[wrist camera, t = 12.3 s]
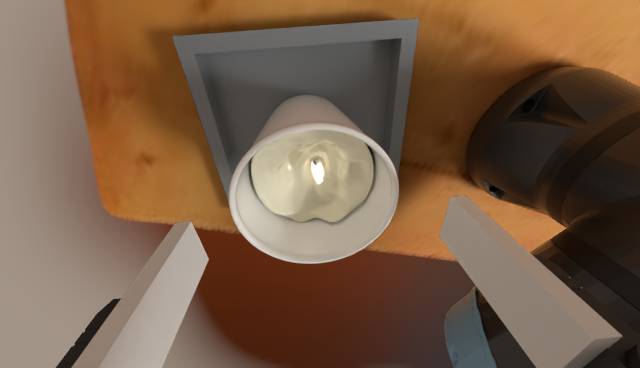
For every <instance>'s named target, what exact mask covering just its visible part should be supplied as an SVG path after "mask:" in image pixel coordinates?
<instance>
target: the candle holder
mask: <svg viewBox="0 0 640 368" xmlns="http://www.w3.org/2000/svg"><path fill="white" fill-rule="evenodd" d="M398 198H399V182H398V176H397V173H396V170H395V167H394V165H393V163H392V161H391V159H390V158H389V156H388V155H387V154H386V152H385V151H384V150H383V149H382V148H381V147H380V146H379V145H378V144H377V143H376V142H375V141H374V140H372V139H371V138H370V137H368V136H367V135H366V134H365V133H364V132H363V131H362V130H361V129H360V128H359V127H358V126H357V125H356V124H355V123H354V122H353V121H352V120H351V119H350V118H349V117H348V116H347V115H346V114H345V113H344V112H342V111H341V110H340V109H339V108H338V107H337V106H336V105H335V104H333V103H332V102H331V101H329V100H327V99H325V98H323V97H320V96H316V95H298V96H294V97H292V98H289V99H287V100H285V101H284V102H282V103H281V104H280V105H279V106H278V107H277V108H276V109H275V110H274V111H273V112H272V114H271V115H270V117H269V118H268V120H267V121H266V123H265V125H264V126H263V128H262V129H261V131H260V133H259V134H258V136H257V138H256V139H255V141H254V142H253V144H252V146H251V147H250V149H249V150H248V152H247V153H246V154H245V155H244V156H243V158H242V159H241V161H240V162H239V164H238V165H237V167H236V169H235V171H234V174H233V176H232V179H231V183H230V188H229V207H230V211H231V215H232V218H233V220H234V222H235V224H236V226H237V228H238V229H239V231H240V232H241V234H242V235H243V236H244V237H245V238H246V239H247V240H248V241H249V242H250V243H251V244H252V245H253V246H255V247H256V248H258V249H259V250H261V251H262V252H264V253H266V254H268V255H270V256H272V257H275V258H278V259H281V260H284V261H288V262H294V263H304V264H314V263H325V262H330V261H335V260H338V259H342V258H345V257H347V256H350V255H352V254H354V253H356V252H358V251H360V250H362V249H363V248H365V247H366V246H368V245H369V244H371V243H372V242H373V241H374V240H375V239H376V238H378V237H379V236H380V234H381V233H382V232H383V231H384V230H385V229H386V227H387V226H388V224H389V223H390V221H391V219H392V217H393V215H394V213H395V210H396V207H397V204H398Z"/></svg>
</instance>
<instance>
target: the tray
mask: <svg viewBox="0 0 640 368" xmlns="http://www.w3.org/2000/svg"><path fill="white" fill-rule="evenodd" d="M418 24H419V18H415V19H401V20H388V21H374V22H360V23H346V24H332V25H319V26H305V27H291V28H277V29H263V30H250V31H236V32H222V33H208V34H195V35H181V36H172V39H173V41H174V44H175V47H176V50H177V53H178V56H179V59H180V62H181V65H182V68H183V71H184V74H185V77H186V79H187V82H188V85H189V88H190V91H191V94H192V97H193V100H194V103H195V106H196V109H197V112H198V114H199V117H200V120H201V123H202V126H203V129H204V132H205V135H206V138H207V141H208V144H209V147H210V150H211V152H212V155H213V158H214V161H215V164H216V167H217V170H218V173H219V176H220V179H221V182H222V185H223V188H224V190H225V193H226V196H227V199H228V202H229V188H230V183H231V179H232V176H233V174H234V171H235V169H236V167H237V165H238V164H239V162H240V161H241V159H242V158H243V156H244V155H245V154H246V153H247V152H248V150H249V149H250V147H251V146H252V144H253V142H254V141H255V139H256V138H257V136H258V134H259V133H260V131H261V129H262V128H263V126H264V125H265V123H266V121H267V120H268V118H269V117H270V115H271V114H272V112H273V111H274V110H275V109H276V108H277V107H278V106H279V105H280V104H281V103H282V102H284V101H285V100H287V99H289V98H292V97H294V96H298V95H316V96H320V97H323V98H325V99H327V100H329V101H331V102H332V103H333V104H335V105H336V106H337V107H338V108H339V109H340V110H341V111H342V112H344V113H345V114H346V115H347V116H348V117H349V118H350V119H351V120H352V121H353V122H354V123H355V124H356V125H357V126H358V127H359V128H360V129H361V130H362V131H363V132H364V133H365V134H366V135H367V136H368V137H370V138H371V139H372V140H374V141H375V142H376V143H377V144H378V145H379V146H380V147H381V148H382V149H383V150H384V151H385V152H386V154H387V155H388V156H389V158H390V159H391V161H392V163H393V165H394V167H395V170H396V173H397V176H398V173H399V165H400V158H401V151H402V143H403V136H404V128H405V121H406V113H407V106H408V99H409V91H410V84H411V76H412V69H413V61H414V54H415V47H416V39H417V32H418Z"/></svg>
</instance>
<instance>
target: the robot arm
mask: <svg viewBox="0 0 640 368" xmlns="http://www.w3.org/2000/svg"><path fill="white" fill-rule="evenodd" d="M466 163H467V170H468V173H469V175H470V177H471V179H472V180H473V182H474V183H475V184H476V185H478V186H479V187H480V188H482V189H483V190H484V191H485V192H487V193H488V194H490V195H491V196H493V197H495V198H497V199H500V200H503V201H506V202H509V203H512V204H515V205H518V206H521V207H524V208H527V209H530V210H533V211H536V212H539V213H542V214H545V215H547V216H549V217H551V218H552V219H554V220H555V221H557V222H558V223H560V224H561V225H563V226H564V227H566V229H565V230H563V231H562V232H560V233H559V234H558V235H556V236H555V237H553V238H552V239H550V240H548V241H547V242H545V243H544V244H542V245H541V246H539V247H538V248H536V249H535V250H533V251H532V252H530V253H529V252H528V251H527V250H526V249H525V248H524V247H523V246H522V245H521V244H519V243H518V242H517V241H516V240H515V239H514V238H513V237H512V236H511V235H509V234H508V233H507V232H506V231H505V230H504V229H503V228H502V227H500V226H499V225H498V224H497V223H496V222H495V221H494V220H493V219H492V218H490V217H489V216H488V215H487V214H486V213H485V212H484V211H483V210H481V209H480V208H479V207H478V206H477V205H476V204H475V203H474V202H473V201H471V200H470V199H469V198H468V197H467V196H466V195H462V196H452V197H451V198H450V201H449V205H448V208H447V212H446V216H445V219H444V223H443V226H442V230H441V233H440V237H441V239H442V240H443V241H444V243H445V244H446V246H447V247H448V248H449V250H450V251H451V252H452V254H453V255H454V256H455V258H456V259H457V261H458V262H459V263H460V265H461V266H462V267H463V269H464V270H465V271H466V273H467V274H468V275H469V277H470V278H471V280H472V281H473V282H474V283H475V285H476V286H475V287H473V288H472V290H471V293H470V294H468V295H467V296H466V297H464V298H463V299H462V300H460V301H459V302H458V303H457V304H455V305H454V306H453V307H452V308H451V309H450V310H449V312H448V314H447V316H446V320H445V336H446V343H447V347H448V351H449V354H450V357H451V360H452V362H453V365H454V368H640V87H639V86H637V85H635V84H633V83H631V82H629V81H627V80H625V79H623V78H621V77H619V76H617V75H615V74H612V73H610V72H608V71H604V70H601V69H596V68H585V67H572V66H564V67H557V68H552V69H548V70H545V71H542V72H539V73H537V74H535V75H533V76H531V77H529V78H527V79H525V80H523V81H522V82H520V83H518V84H517V85H515V86H514V87H513V88H511V89H510V90H509V91H507V92H506V93H505V94H504V95H503V96H501V97H500V98H499V99H498V100H497V101H496V102H495V103H494V104H493V105H492V106H491V108H490V109H489V110H488V111H487V112H486V114H485V115H484V116H483V118H482V119H481V121H480V122H479V124H478V125H477V127H476V129H475V131H474V133H473V135H472V137H471V140H470V143H469V146H468V150H467V157H466ZM208 260H209V259H208V256H207V254H206V252H205V250H204V248H203V246H202V244H201V241H200V239H199V237H198V235H197V233H196V231H195V229H194V226H193V224H192V222H180V223H175V224H174V226H173V227H172V229H171V230H170V231H169V233H168V234H167V235H166V237H165V238H164V240H163V241H162V243H161V244H160V245H159V247H158V248H157V249H156V251H155V252H154V254H153V255H152V257H151V258H150V259H149V261H148V262H147V263H146V265H145V266H144V268H143V269H142V270H141V272H140V273H139V275H138V276H137V277H136V279H135V280H134V282H133V283H132V284H131V286H130V287H129V289H128V290H127V291H126V293H125V294H124V295H123V297H122V298H121V299H113V300H112V301H111V302H110V303H109V304H107V305H106V306H105V307H104V308H103V309H102V310H101V311H100V312H99V313H97V315H96V316H95V317H94V319H93V320H92V321H91V322H90V324H89V325H88V326H87V328H86V329H85V332H84V333H82V334H81V335H80V337H79V338H78V339H77V341H76V342H75V345H74V346H73V347H71V348H70V350H69V351H68V352H67V354H66V355H65V356H64V358H63V359H62V360H61V362H60V363H59V364H58V366H57V367H56V368H162V366H163V363H164V361H165V359H166V356H167V354H168V352H169V349H170V347H171V345H172V343H173V340H174V338H175V336H176V334H177V331H178V329H179V327H180V324H181V322H182V320H183V317H184V315H185V313H186V311H187V308H188V306H189V304H190V301H191V299H192V297H193V295H194V292H195V290H196V288H197V285H198V283H199V281H200V278H201V276H202V274H203V271H204V269H205V267H206V265H207V262H208Z"/></svg>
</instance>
